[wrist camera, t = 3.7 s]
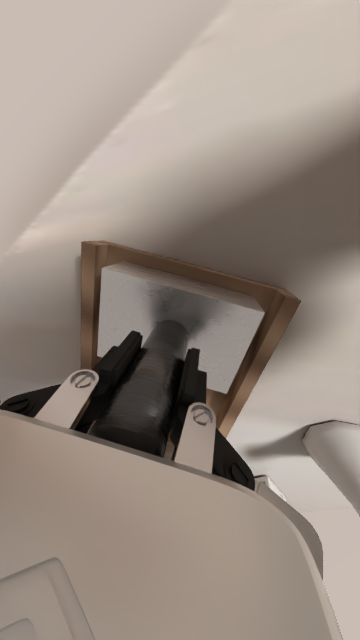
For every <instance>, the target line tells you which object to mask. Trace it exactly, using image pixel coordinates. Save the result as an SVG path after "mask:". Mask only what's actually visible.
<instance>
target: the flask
mask: <svg viewBox="0 0 360 640" xmlns="http://www.w3.org/2000/svg"><path fill="white" fill-rule="evenodd" d="M302 442H303V444H304V446H305V448H306V450H307V452H308V454H309V455H310V457H311V458H312V459H313V460H314V461H315V462H316V463H317V465H318V466H319V467H320V468H321V469H322V470H323V471H324V472H325V474H326V475H327V476H328V477H329V478H330V479H331V480H332V482H333V483H334V484H335V485H336V486H337V488H338V489H339V490H340V491H341V492H342V493H343V495H344V496H345V497H346V498H347V499H348V501H349V502H350V503H351V504H352V506H353V507H354V508H355V510H356V511H357V513H358V514H359V516H360V425H355V424H350V423H344V422H339V421H333V422H328V423H323V424H319V425H314V426H310V428H309V429H308V431H307V433H306V434H305V436H304V438H303V440H302Z"/></svg>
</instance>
